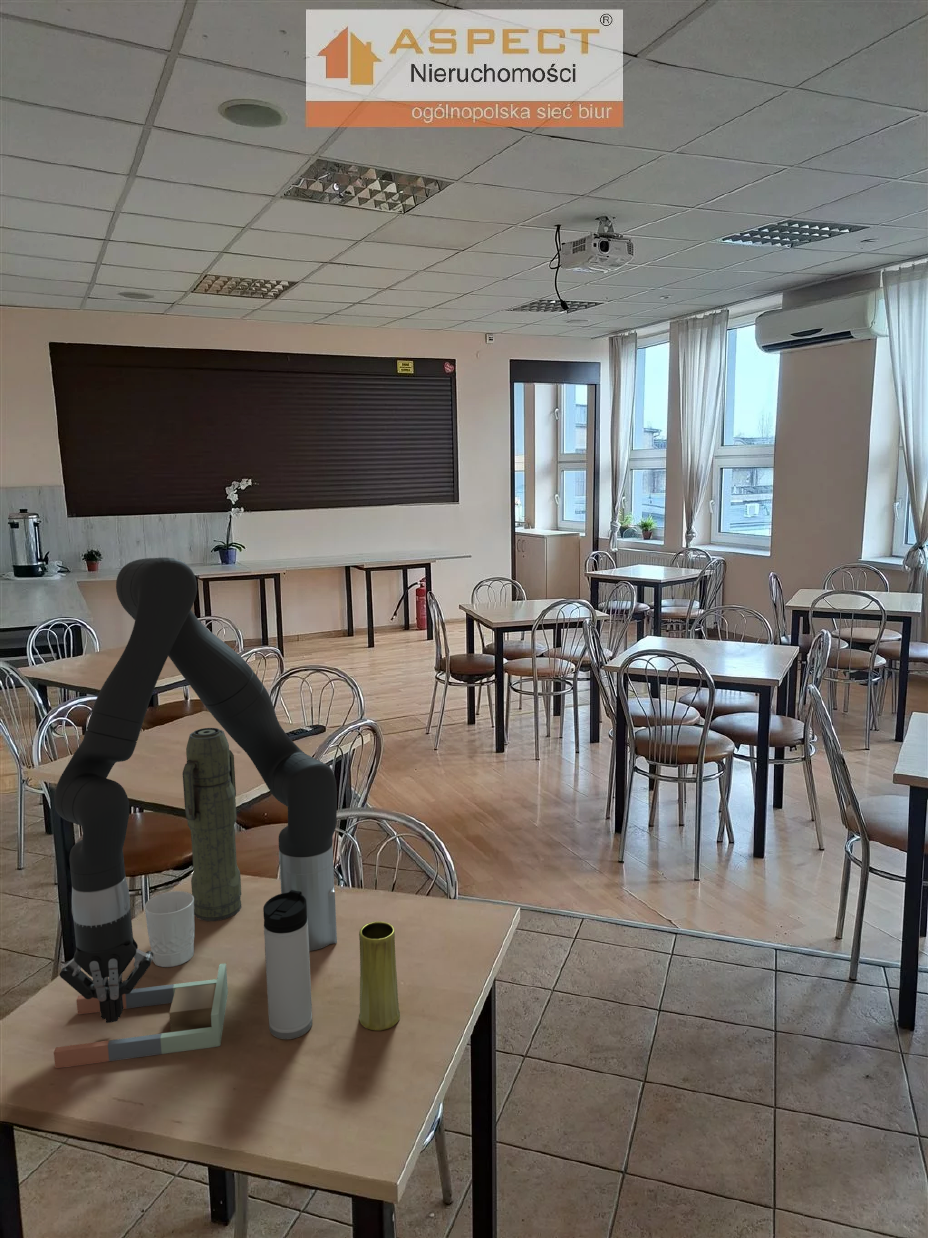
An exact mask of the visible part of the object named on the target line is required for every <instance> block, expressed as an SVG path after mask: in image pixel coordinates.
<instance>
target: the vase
mask: <svg viewBox="0 0 928 1238" xmlns="http://www.w3.org/2000/svg"><path fill="white" fill-rule="evenodd" d="M395 931H396V930H395V927H394V926H393V925H392V924H391V923H389V922H387V921H380V920H379V921H372V922H368V923H366V924H364V925H363V926H362V927H361V928H360V929H359V932H358V937H359V938H358V939H359V962H360V963H359V973H360V976H359V1014H358V1019H359V1023H360V1024H361V1025H362V1026H363V1027H364V1028H365V1029H368V1030H370V1031H377V1032H378V1031H385V1030H388V1029H390V1028H392V1027H394V1026H395V1025H396V1024H397V1023H398V1022H399V1020H400V1017H401V1012H400V1005H399V994H398V992H399V991H398V976H397V973H398V972H397V959H396V958H397V957H396V956H397V955H396V944H395V943H396V942H395V941H396V940H395V939H396V935H395V934H396V933H395Z"/></svg>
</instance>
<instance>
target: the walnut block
mask: <svg viewBox="0 0 928 1238" xmlns="http://www.w3.org/2000/svg"><path fill="white" fill-rule="evenodd" d="M215 988H216V984H210V985H201V986H192V987H184V988H176V989H175V993H174V997H173V1001H172V1003H171V1005H170V1009H169V1013H168V1015H169V1025H170V1026H169V1027H170V1032H177V1031H185V1030H192V1029H200V1028H208V1027H212V1024H211V1012H212V1006H213V1000H214V994H215Z"/></svg>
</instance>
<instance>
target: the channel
mask: <svg viewBox="0 0 928 1238" xmlns="http://www.w3.org/2000/svg"><path fill="white" fill-rule="evenodd" d="M217 970H218V971H217V976H216V978H215V979H206V980H197V981H188V982H182V983H181V982H180V983H174V984H165V985H157V986H156V985H154V986H149V987H139V988H133V990H132V991H131V992H130V993H129V994H123V995H122V999H123V1010H125V1009H126V1010H127V1009H133V1008H135V1009H136V1008H140V1007H141V1008H143V1007H150V1006H151V1007H152V1006H158V1005H165V1004H166V1005H167V1004H172V1001H173V997H174V993H175V989H176V988H184V987H192V986H201V985H210V984H216V988H215V994H214V1000H213V1006H212V1012H211V1024H212V1027H208V1028H200V1029H192V1030H185V1031H177V1032H171V1031H168V1032H162V1033H156V1034H147V1035H141V1036H133V1037H132V1036H131V1037H124V1038H123V1037H122V1038H117V1039H110V1040H103V1041H96V1042H88V1043H79V1044H71V1045H64V1046H63V1045H62V1046H56V1047H55V1048H54V1051H53V1057H54V1058H53V1059H54V1068H55V1069H60V1068H69V1067H76V1066H84V1065H90V1064H97V1063H99V1064H100V1063H107V1062H112V1061H121V1060H127V1059H135V1058H142V1057H149V1056H150V1057H151V1056H158V1055H165V1054H173V1053H181V1052H185V1051H188V1052H189V1051H193V1050H194V1051H195V1050H202V1049H210V1048H215V1047H221V1044H222V1043H221V1042H222V1036H223V1029H224V1022H225V1017H226V1015H225V1013H226V1009H227V1001H228V995H229V988H228V972H227V971H228V969H227V962H226V963H219V966H218V969H217ZM76 1008H77V1015H83V1014H84V1015H86V1014H95V1013H101V1012H100V1003H99V1000H98V999H97V998H91V999H86V998H84V997H83V996H82V995H81V994H79V995H78V996H77V997H76Z"/></svg>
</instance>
